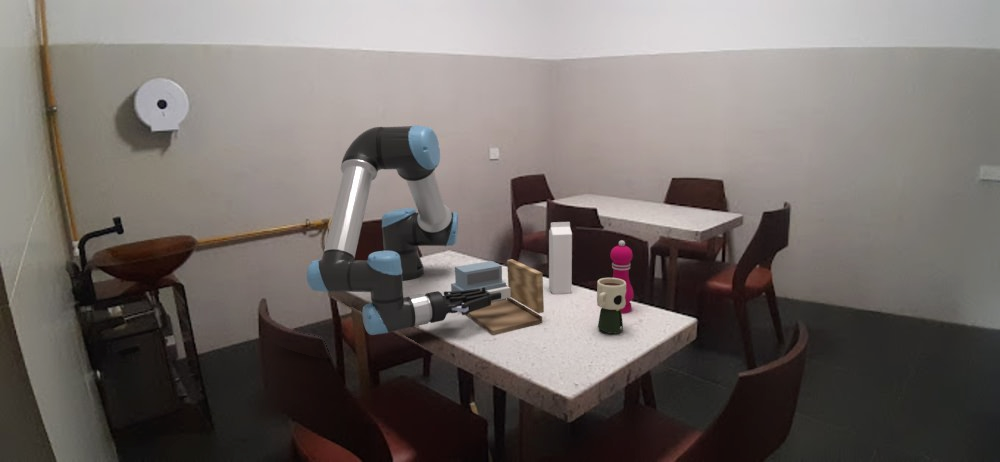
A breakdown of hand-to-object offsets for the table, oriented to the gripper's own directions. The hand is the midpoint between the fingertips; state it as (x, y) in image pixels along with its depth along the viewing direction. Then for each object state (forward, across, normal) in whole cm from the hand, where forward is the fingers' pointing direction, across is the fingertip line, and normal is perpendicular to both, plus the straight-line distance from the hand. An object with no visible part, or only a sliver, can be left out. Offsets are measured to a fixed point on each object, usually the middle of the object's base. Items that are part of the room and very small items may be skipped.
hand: (509, 291), depth 139 cm
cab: (-2, -14, -8) cm, 16 cm away
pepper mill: (+30, +11, -8) cm, 32 cm away
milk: (+25, -11, -8) cm, 28 cm away
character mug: (+18, +21, -8) cm, 28 cm away
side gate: (+6, -1, -5) cm, 8 cm away
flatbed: (-2, -1, -8) cm, 8 cm away
